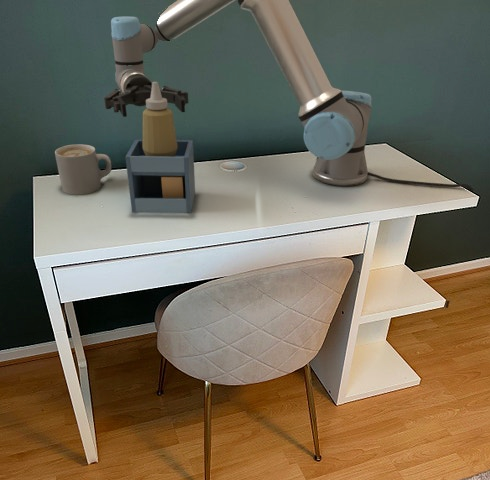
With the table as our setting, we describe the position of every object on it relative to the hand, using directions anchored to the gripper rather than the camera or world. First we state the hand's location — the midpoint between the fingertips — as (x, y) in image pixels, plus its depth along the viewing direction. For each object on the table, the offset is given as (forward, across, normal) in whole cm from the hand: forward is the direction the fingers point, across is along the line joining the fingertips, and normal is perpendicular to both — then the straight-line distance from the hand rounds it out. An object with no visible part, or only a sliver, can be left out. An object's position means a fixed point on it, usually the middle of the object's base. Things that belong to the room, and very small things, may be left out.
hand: (154, 108), depth 115 cm
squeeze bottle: (+4, 0, -12) cm, 12 cm away
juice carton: (+5, -2, -22) cm, 22 cm away
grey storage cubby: (+4, 0, -23) cm, 23 cm away
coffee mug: (-14, +17, -23) cm, 32 cm away
